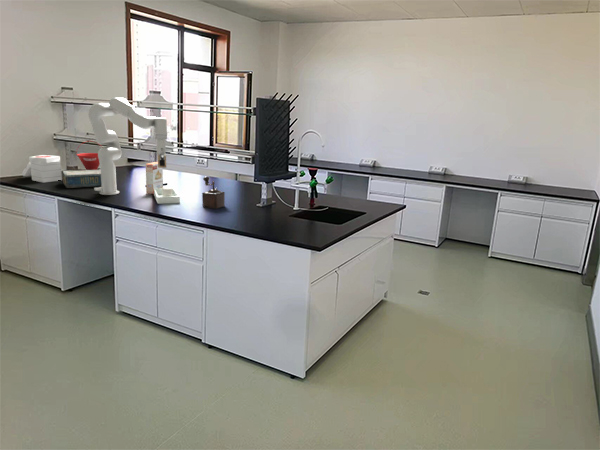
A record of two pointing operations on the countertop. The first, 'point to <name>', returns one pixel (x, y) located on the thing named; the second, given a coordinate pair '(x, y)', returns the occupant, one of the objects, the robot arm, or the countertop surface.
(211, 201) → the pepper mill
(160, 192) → the tray
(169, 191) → the white block
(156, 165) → the cracker box
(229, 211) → the countertop surface
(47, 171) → the pizza boxes
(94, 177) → the metal box
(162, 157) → the robot arm
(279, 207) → the countertop surface
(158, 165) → the light wooden cube
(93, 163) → the fire bucket
